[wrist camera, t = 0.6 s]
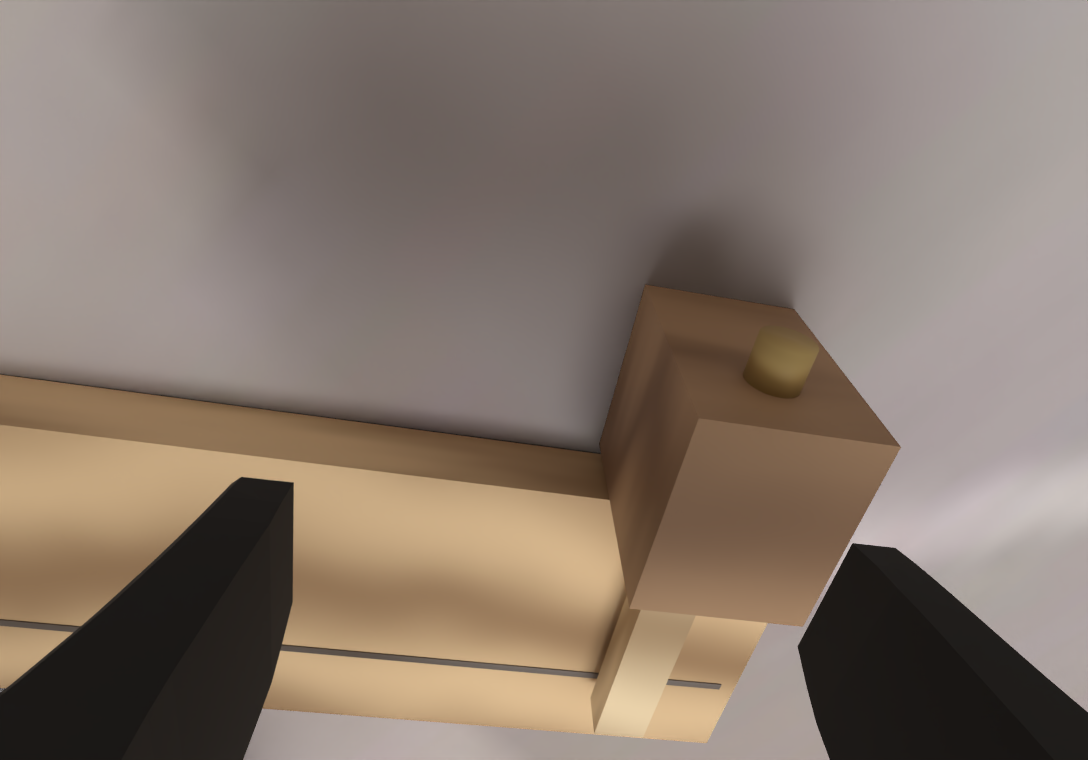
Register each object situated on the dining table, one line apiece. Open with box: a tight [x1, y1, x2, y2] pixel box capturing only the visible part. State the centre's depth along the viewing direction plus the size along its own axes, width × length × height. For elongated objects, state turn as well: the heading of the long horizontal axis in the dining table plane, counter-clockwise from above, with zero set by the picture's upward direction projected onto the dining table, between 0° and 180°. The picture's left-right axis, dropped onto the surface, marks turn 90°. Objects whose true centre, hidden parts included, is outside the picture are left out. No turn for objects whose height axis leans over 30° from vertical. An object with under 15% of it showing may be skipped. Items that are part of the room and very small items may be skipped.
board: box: [0, 375, 767, 743], centre depth 22 cm, size 10×24×2 cm, turn 79°
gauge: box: [590, 285, 901, 738], centre depth 19 cm, size 14×4×6 cm, turn 169°
